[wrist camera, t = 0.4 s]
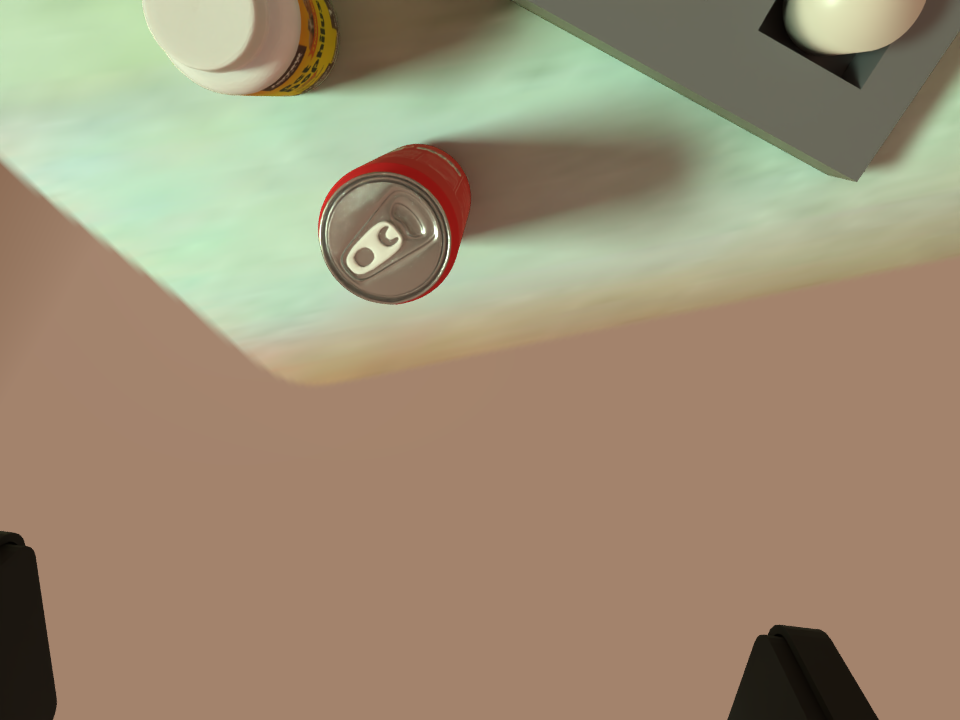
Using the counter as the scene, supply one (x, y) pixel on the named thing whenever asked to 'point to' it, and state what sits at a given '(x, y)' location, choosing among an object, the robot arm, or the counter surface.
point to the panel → (767, 69)
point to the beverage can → (395, 224)
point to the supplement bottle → (248, 43)
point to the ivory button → (847, 24)
